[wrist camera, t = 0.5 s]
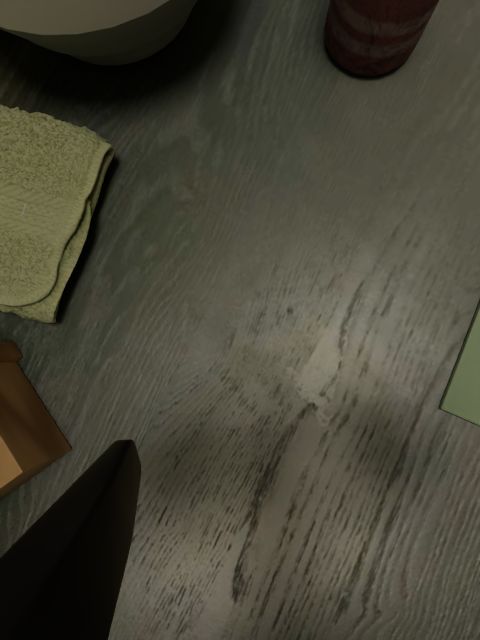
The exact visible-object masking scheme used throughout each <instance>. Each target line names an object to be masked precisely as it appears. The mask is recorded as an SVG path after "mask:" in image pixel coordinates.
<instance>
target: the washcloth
mask: <svg viewBox="0 0 480 640" xmlns="http://www.w3.org/2000/svg"><path fill="white" fill-rule="evenodd" d="M107 142H108V140H105V139H102V138H101V136H99V135H98V134H97V133H96V132H93V131H91V130H90V129H88V128H87V127H85V126H83V127H82V128H81V127H79V126H76V125H72V123H69V122H68V123H66V121H64V122H62V121H60V120H55V119H54V117H53V116H50V115H46V114H43V113H40V112H35V113H31V114H29V113H28V112H26V111H24V110H22V111H21V110H19V108H18V107H16V108H14V109H9V108H8V107H6V106H3V105H0V311H1V312H5V313H9V312H12V313H15V314H17V315H18V316H20V317H21V318H27V319H30V320H36V321H38V322H42V323H54V322H56V313H57V311H58V306H59V302H60V299H61V296H62V293H63V290H64V288H65V286H66V283H67V281H68V279H69V277H70V275H71V273H72V271H73V269H74V267H75V265H76V263H77V260H78V258H79V255H80V254H81V251H82V248H83V246H84V243H85V241H86V239H87V234H88V230H89V227H90V221H91V217H92V215H93V212H94V209H95V207H96V203H97V201H98V197H99V194H100V190H101V187H102V183H103V181H104V177H105V174H106V171H107V169H108V167H109V165H110V162H111V161H112V158H113V156H114V148H113V146H112V145H110V144H109V143H107Z"/></svg>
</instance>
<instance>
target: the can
mask: <svg viewBox="0 0 480 640" xmlns="http://www.w3.org/2000/svg"><path fill="white" fill-rule="evenodd" d="M438 2H439V0H330V4H329V9H328V13H327V18H326V23H325V28H324V30H325V42H326V44H327V47H328V49H329V51H330V53H331V55H332V57H333V59H334V60H335V61H336V62H337V63H338V64H339V65H340V66H341V67H342V68H344V69H345V70H347V71H349V72H351V73H353V74H357V75H361V76H377V75H380V74H383V73H386V72H388V71H391V70H393V69H395V68H397V67H398V66H399V65H401V64H402V63H403V62H405V61H406V60H407V59H408V57H409V56H410V54H411V53H412V51H413V50H414V48H415V46H416V44H417V43H418V41H419V39H420V37H421V35H422V33H423V31H424V29H425V27H426V25H427V23H428V21H429V19H430V17H431V15H432V13H433V11H434V9H435V7H436V5H437V3H438Z"/></svg>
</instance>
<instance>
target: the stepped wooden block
mask: <svg viewBox="0 0 480 640" xmlns="http://www.w3.org/2000/svg"><path fill="white" fill-rule="evenodd" d="M22 357H23V356H22V355H21V353H20V352H19V350H18V348H17V347H16V345H15V344H14V342H6V341H0V500H2V499H3V498H5V497H6V496H7V495H9V494H10V493H11V492H13V491H14V490H16V489H17V488H18V487H20V486H21V485H23V484H24V483H25V482H27V481H28V480H30V479H31V478H32V477H34V476H35V475H36V474H38V473H39V472H41V471H42V470H43V469H45V468H46V467H48V466H49V465H50V464H52V463H53V462H55V461H56V460H57V459H59V458H60V457H61V456H63V455H64V454H66V453H67V452H68V451H70V450H71V447H70V446H69V444H68V442H67V441H66V439H65V438H64V436H63V435H62V433H61V431H60V430H59V428H58V427H57V425H56V423H55V422H54V420H53V419H52V417H51V416H50V414H49V412H48V411H47V409H46V408H45V406H44V405H43V403H42V401H41V400H40V398H39V397H38V395H37V393H36V392H35V390H34V389H33V387H32V386H31V384H30V382H29V381H28V379H27V378H26V376H25V375H24V373H23V371H22V370H21V368H20V367H19V365H18V364H17V361H18V360H19V359H21V358H22Z"/></svg>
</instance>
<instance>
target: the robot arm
mask: <svg viewBox="0 0 480 640" xmlns="http://www.w3.org/2000/svg"><path fill="white" fill-rule="evenodd" d="M140 479H141V462H140V459H139V455H138V452H137V448H136V445H135V442H134V441H133V440H131V439H129V440H118V441H115V442H114V443H113V444H112V445H111V446H110V447H109V448H108V449H107V450H106V451H105V452H104V453H103V454H102V455H101V456H100V457H99V458H98V459H97V460H96V461H95V462H94V463H93V464H92V465H91V466H90V467H89V468H88V469H87V470H86V471H85V472H84V473H83V474H82V475H81V476H80V477H79V478H78V479H77V480H76V481H75V482H74V483H73V484H72V486H71V487H70V488H69V489H68V490H67V491H66V492H65V493H64V494H63V495H62V496H61V497H60V498H59V499H58V500H57V501H56V502H55V503H54V504H53V505H52V506H51V507H50V508H49V509H48V510H47V511H46V512H45V513H44V514H43V515H42V516H41V517H40V518H39V519H38V520H37V521H36V522H35V523H34V524H33V525H32V526H31V527H30V528H29V529H28V530H27V531H26V532H25V533H24V534H23V535H22V536H21V537H20V539H19V540H18V541H17V542H16V543H15V544H14V545H13V546H12V547H11V548H10V549H9V550H8V551H7V552H6V553H5V554H4V555H3V556H2V557H1V558H0V640H108V636H109V632H110V628H111V624H112V620H113V616H114V612H115V608H116V604H117V600H118V596H119V591H120V587H121V583H122V579H123V575H124V571H125V567H126V563H127V559H128V555H129V551H130V546H131V542H132V537H133V530H134V524H135V516H136V509H137V502H138V494H139V487H140Z"/></svg>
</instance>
